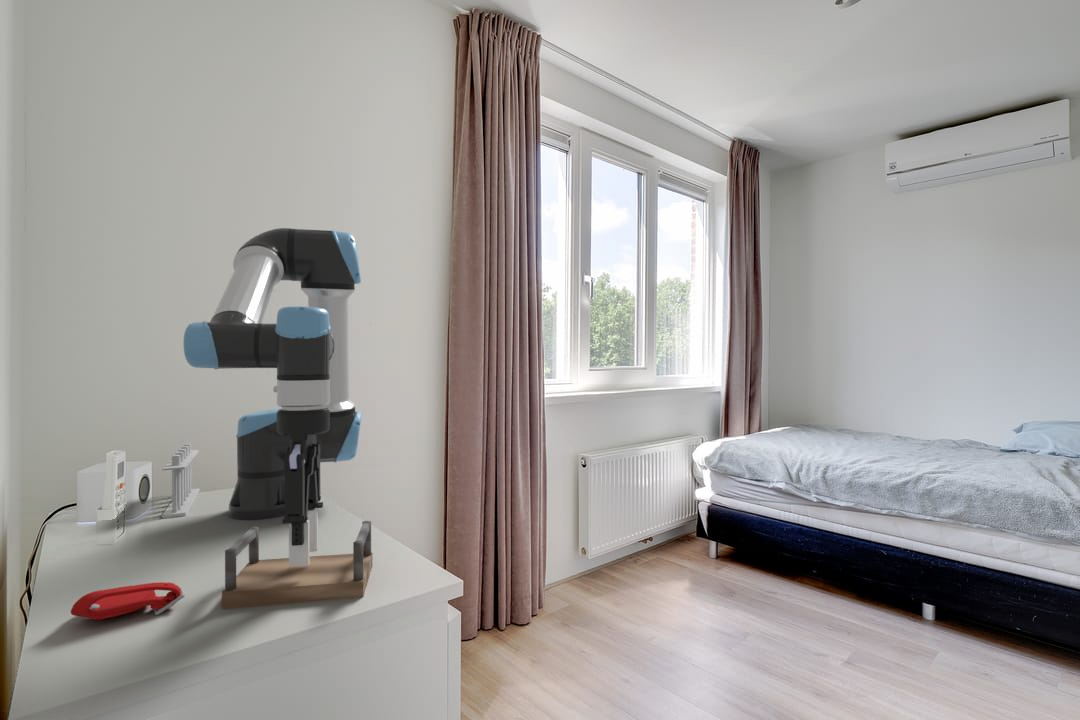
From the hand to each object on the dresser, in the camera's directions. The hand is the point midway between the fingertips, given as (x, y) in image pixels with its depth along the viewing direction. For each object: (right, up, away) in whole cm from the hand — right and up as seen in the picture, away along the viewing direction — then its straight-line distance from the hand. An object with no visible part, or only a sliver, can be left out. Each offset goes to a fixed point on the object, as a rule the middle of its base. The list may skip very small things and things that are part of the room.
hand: (304, 557), depth 84 cm
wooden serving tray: (0, -4, 0) cm, 4 cm away
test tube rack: (-50, -5, +48) cm, 69 cm away
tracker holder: (-19, -2, -4) cm, 20 cm away
